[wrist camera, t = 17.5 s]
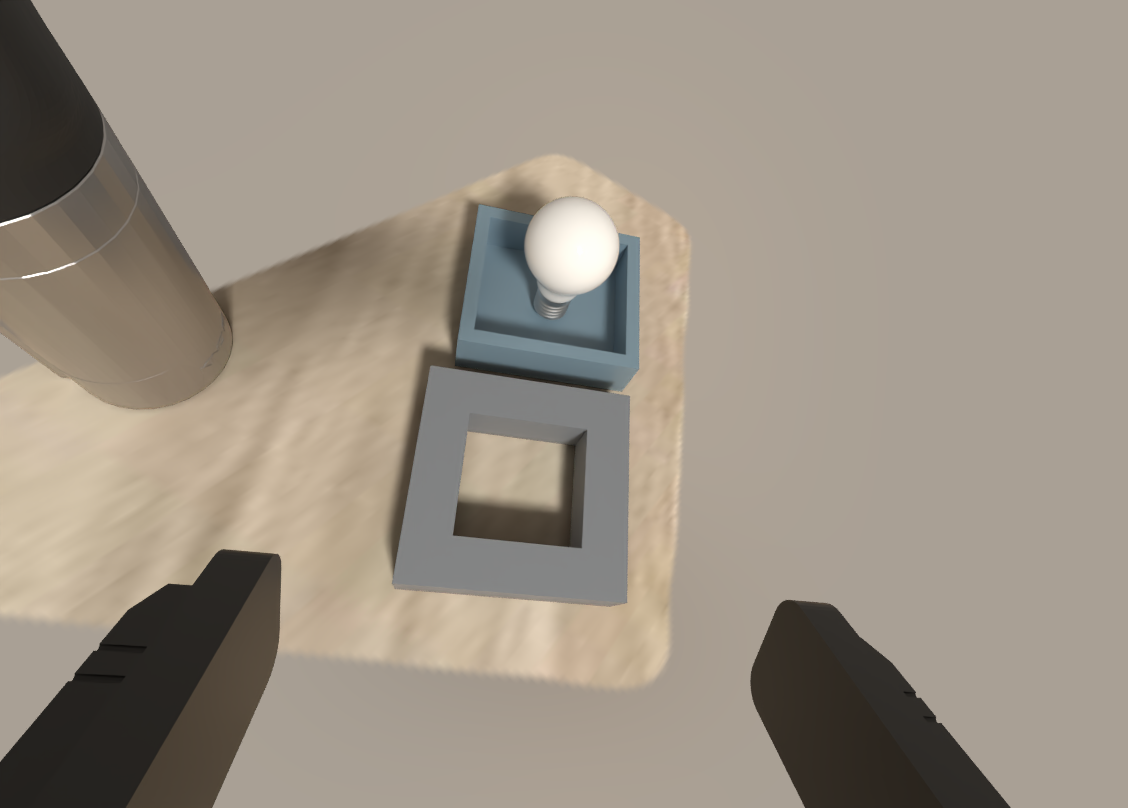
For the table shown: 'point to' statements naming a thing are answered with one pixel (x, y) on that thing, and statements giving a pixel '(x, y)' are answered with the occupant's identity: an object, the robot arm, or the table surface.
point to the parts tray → (532, 343)
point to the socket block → (507, 566)
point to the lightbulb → (569, 252)
